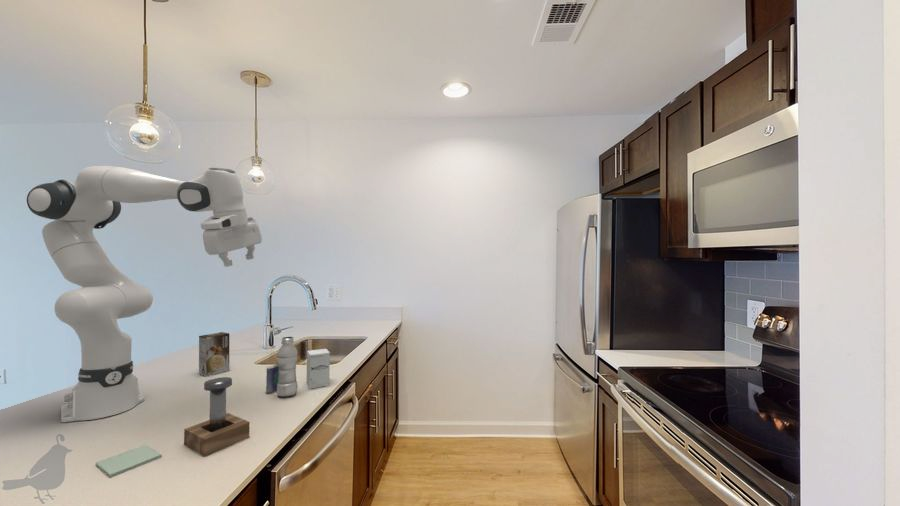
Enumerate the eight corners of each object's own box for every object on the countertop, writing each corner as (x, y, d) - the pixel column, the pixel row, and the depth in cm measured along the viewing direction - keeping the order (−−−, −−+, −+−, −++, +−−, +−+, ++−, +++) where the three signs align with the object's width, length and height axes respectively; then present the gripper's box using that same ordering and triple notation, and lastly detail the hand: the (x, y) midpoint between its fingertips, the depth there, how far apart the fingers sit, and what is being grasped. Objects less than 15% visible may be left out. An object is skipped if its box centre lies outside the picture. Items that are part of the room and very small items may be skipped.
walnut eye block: (183, 444, 87) (184, 428, 87) (227, 427, 96) (228, 413, 96) (204, 456, 82) (205, 439, 82) (249, 437, 91) (249, 421, 91)
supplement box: (308, 389, 124) (309, 354, 125) (306, 383, 131) (306, 350, 131) (329, 386, 128) (330, 352, 128) (326, 380, 134) (326, 347, 135)
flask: (268, 394, 120) (269, 363, 120) (263, 393, 121) (264, 362, 122) (292, 386, 128) (292, 357, 128) (287, 384, 129) (287, 356, 130)
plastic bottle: (289, 399, 115) (290, 340, 116) (272, 398, 116) (272, 339, 117) (301, 392, 121) (302, 336, 122) (284, 391, 123) (285, 335, 123)
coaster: (95, 465, 78) (95, 462, 78) (145, 446, 86) (145, 444, 86) (110, 477, 74) (110, 474, 74) (161, 456, 81) (161, 454, 81)
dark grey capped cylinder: (198, 443, 88) (199, 382, 88) (223, 433, 93) (224, 375, 93) (210, 449, 85) (211, 386, 85) (235, 438, 90) (236, 379, 90)
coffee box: (222, 368, 149) (222, 331, 150) (229, 371, 146) (230, 333, 146) (197, 374, 141) (198, 335, 142) (205, 377, 138) (206, 337, 138)
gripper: (246, 217, 119) (253, 255, 122) (195, 224, 99) (205, 270, 102) (262, 216, 118) (269, 255, 121) (214, 223, 98) (223, 270, 101)
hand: (239, 262), depth 111 cm, fingers open, 8 cm apart
